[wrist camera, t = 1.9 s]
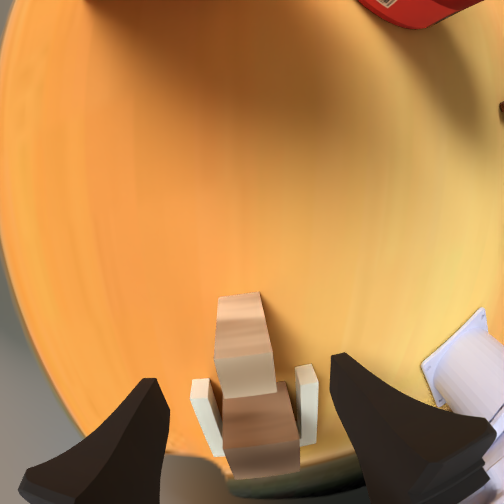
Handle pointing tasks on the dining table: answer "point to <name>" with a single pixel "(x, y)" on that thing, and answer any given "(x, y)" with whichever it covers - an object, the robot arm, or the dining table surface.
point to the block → (252, 393)
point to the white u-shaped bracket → (212, 419)
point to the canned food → (416, 11)
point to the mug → (502, 106)
